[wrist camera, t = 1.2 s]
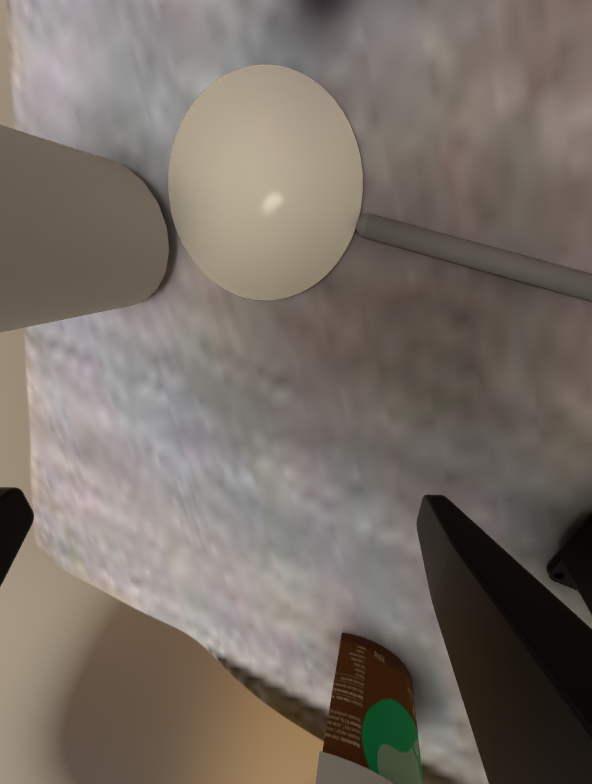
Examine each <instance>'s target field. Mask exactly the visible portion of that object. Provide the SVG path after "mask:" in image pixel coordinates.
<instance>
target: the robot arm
mask: <svg viewBox="0 0 592 784" xmlns="http://www.w3.org/2000/svg"><path fill="white" fill-rule="evenodd" d="M33 519H34V513H33V510H32V509H31V507H30V505H29V503H28V501H27V499H26V497H25V496H24V494H23V492H22V491H21V490H20V489H19V488H11V487H1V488H0V586H1V584H2V582H3V581H4V579H5V576H6V575H7V573H8V571H9V569H10V567H11V564H12V563H13V561H14V559H15V557H16V555H17V553H18V551H19V549H20V547H21V545H22V543H23V541H24V539H25V537H26V535H27V533H28V531H29V529H30V527H31V525H32V523H33ZM417 532H418V537H419V541H420V546H421V551H422V556H423V561H424V566H425V571H426V576H427V581H428V585H429V590H430V595H431V599H432V603H433V606H434V610H435V613H436V617H437V620H438V623H439V626H440V629H441V633H442V636H443V639H444V642H445V645H446V648H447V652H448V655H449V658H450V661H451V664H452V667H453V671H454V674H455V677H456V680H457V683H458V687H459V690H460V693H461V696H462V699H463V702H464V706H465V709H466V712H467V715H468V718H469V721H470V725H471V728H472V731H473V734H474V737H475V741H476V744H477V747H478V750H479V753H480V756H481V760H482V763H483V766H484V769H485V772H486V775H487V779H488V782H489V784H592V629H591V628H590V627H589V626H588V625H587V624H586V623H584V622H583V621H582V620H581V619H580V618H579V617H578V616H577V615H576V614H574V613H573V612H572V611H571V610H570V609H569V608H568V607H567V606H566V605H565V604H563V603H562V602H561V601H560V600H559V599H558V598H557V597H556V596H555V595H554V594H552V593H551V592H550V591H549V590H548V589H547V588H546V587H545V586H544V585H543V584H541V583H540V582H539V581H538V580H537V579H536V578H535V577H534V576H533V575H531V574H530V573H529V572H528V571H527V570H526V569H525V568H524V567H523V566H522V565H520V564H519V563H518V562H517V561H516V560H515V559H514V558H513V557H512V556H511V555H509V554H508V553H507V552H506V551H505V550H504V549H503V548H502V547H501V546H500V545H498V544H497V543H496V542H495V541H494V540H493V539H492V538H491V537H490V536H488V535H487V534H486V533H485V532H484V531H483V530H482V529H481V528H480V527H479V526H477V525H476V524H475V523H474V522H473V521H472V520H471V519H470V518H469V517H468V516H466V515H465V514H464V513H463V512H462V511H461V510H460V509H459V508H458V507H457V506H455V505H454V504H453V503H452V502H451V501H450V500H449V499H448V498H446V497H445V496H443V495H425V496H424V497H423V499H422V503H421V507H420V510H419V514H418V518H417ZM559 572H560V573H559ZM547 573H548V575H549V577H550V578H551V580H553V581H555V582H558V583H560V584H563V585H565V586H568V587H570V588H573V589H576V590H578V591H579V593H580V595H581V596H582V598H583V600H584V602H585V604H586V606H587V608H588V609H589V611H590V613H591V615H592V515H591V516H590V517H589V518H588V520H587V521H586V522H585V523H584V524H583V526H582V527H581V528H580V529H579V530H578V532H577V533H576V534H575V535H574V536H573V537H572V539H571V540H570V541H569V542H568V543H567V545H566V546H565V547H564V548H563V549H562V551H561V552H560V553H559V554H558V555H557V557H556V558H555V559H554V560H553V561H552V562H551V564H550V565H549V566H548V568H547Z"/></svg>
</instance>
